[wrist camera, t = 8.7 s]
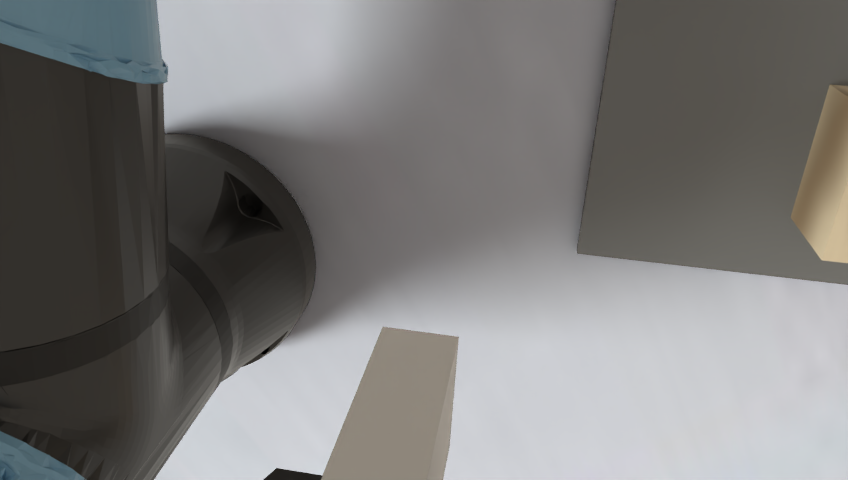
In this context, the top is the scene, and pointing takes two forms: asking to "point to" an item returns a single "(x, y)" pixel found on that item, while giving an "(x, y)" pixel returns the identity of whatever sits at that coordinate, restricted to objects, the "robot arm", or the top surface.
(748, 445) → the top surface
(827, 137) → the flip block
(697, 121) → the mat
